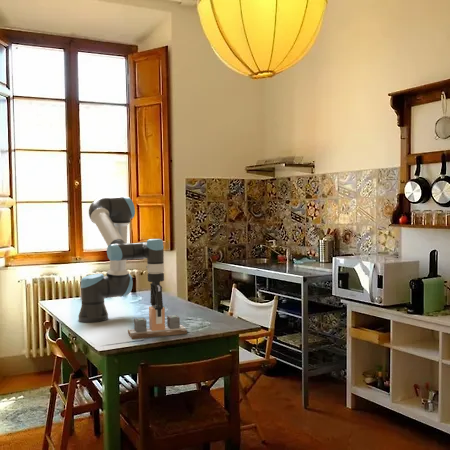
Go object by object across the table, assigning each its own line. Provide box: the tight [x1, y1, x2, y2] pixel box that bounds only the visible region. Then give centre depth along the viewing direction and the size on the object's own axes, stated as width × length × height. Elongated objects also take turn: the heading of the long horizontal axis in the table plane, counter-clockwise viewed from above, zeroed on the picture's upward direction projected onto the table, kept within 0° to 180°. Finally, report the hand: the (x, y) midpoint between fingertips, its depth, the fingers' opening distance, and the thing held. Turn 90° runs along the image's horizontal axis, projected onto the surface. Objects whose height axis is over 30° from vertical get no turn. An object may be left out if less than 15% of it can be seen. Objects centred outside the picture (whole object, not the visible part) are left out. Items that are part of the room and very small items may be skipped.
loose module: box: [148, 305, 166, 331], centre depth 244 cm, size 6×6×10 cm
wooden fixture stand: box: [127, 314, 188, 340], centre depth 244 cm, size 12×25×7 cm, turn 109°
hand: (156, 321), depth 244 cm, fingers open, 9 cm apart
